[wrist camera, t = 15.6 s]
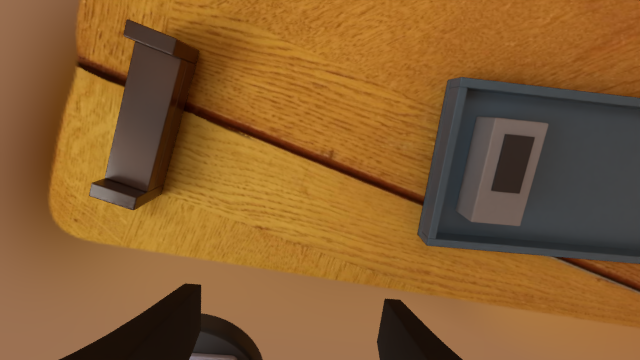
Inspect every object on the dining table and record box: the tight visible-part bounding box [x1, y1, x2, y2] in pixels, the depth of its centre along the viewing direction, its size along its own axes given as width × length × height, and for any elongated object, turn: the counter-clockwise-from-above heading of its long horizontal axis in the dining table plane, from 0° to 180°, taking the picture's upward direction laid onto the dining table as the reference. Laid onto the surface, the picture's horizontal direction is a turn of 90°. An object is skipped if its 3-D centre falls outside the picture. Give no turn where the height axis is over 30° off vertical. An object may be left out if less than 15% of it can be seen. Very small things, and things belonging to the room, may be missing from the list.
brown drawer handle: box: [89, 20, 200, 210], centre depth 16 cm, size 9×2×3 cm, turn 159°
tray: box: [418, 77, 640, 264], centre depth 19 cm, size 10×26×2 cm, turn 84°
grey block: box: [456, 117, 548, 226], centre depth 17 cm, size 6×3×2 cm, turn 174°
